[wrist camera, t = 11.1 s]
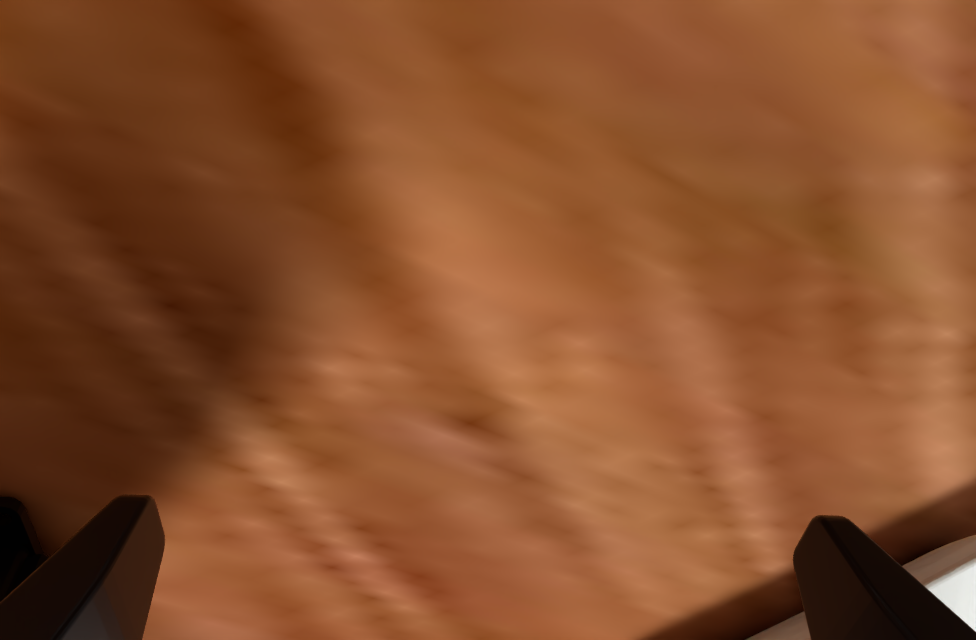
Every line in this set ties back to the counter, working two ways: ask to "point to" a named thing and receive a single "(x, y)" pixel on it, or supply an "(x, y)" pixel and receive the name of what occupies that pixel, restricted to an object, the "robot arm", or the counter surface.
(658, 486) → the counter surface
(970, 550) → the salad plate
